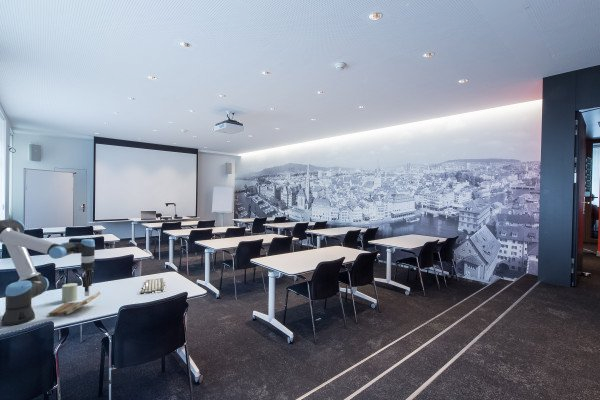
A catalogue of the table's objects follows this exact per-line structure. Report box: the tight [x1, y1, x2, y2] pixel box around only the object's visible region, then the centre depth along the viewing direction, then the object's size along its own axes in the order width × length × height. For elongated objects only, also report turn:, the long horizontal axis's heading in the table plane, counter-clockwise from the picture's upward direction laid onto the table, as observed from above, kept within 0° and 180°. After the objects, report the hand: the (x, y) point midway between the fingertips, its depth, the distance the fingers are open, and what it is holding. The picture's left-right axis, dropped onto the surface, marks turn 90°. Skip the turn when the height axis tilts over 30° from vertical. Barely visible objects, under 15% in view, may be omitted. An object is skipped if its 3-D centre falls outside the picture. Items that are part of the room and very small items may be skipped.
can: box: [61, 282, 78, 303], centre depth 217 cm, size 9×9×12 cm
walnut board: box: [48, 301, 81, 317], centre depth 198 cm, size 9×18×2 cm, turn 11°
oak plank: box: [66, 291, 102, 315], centre depth 200 cm, size 14×18×2 cm
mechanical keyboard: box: [140, 277, 165, 295], centre depth 254 cm, size 38×19×3 cm, turn 27°
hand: (87, 295), depth 201 cm, fingers closed
